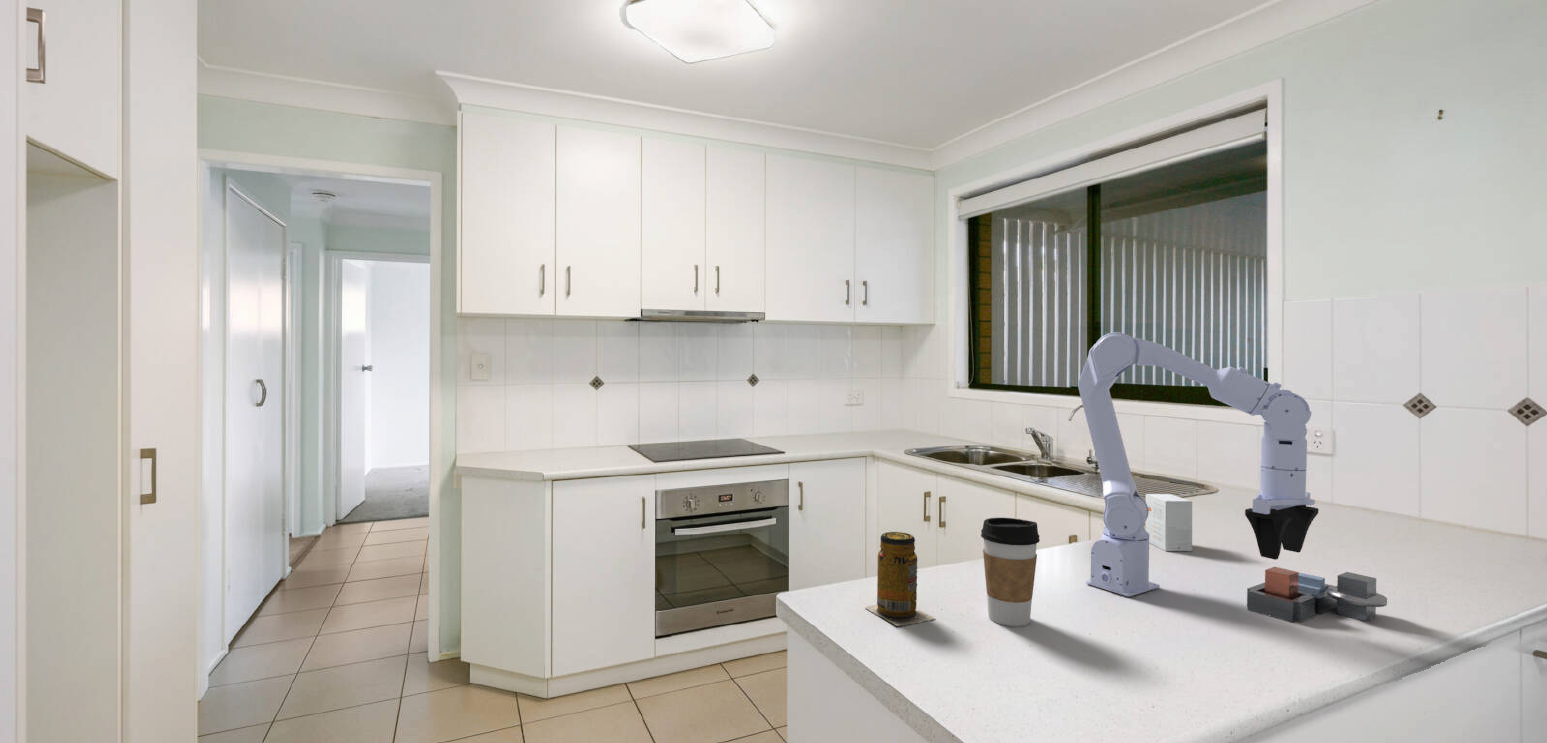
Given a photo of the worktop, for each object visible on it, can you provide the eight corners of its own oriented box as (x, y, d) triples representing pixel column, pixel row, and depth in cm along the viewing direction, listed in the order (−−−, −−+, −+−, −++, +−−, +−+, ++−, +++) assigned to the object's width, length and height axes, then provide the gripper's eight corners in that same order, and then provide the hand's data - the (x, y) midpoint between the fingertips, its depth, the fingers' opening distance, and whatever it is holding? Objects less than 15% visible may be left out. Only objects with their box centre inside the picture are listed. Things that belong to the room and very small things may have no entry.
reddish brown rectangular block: (1288, 617, 103) (1289, 575, 103) (1264, 610, 106) (1265, 569, 106) (1297, 613, 105) (1298, 572, 104) (1274, 607, 107) (1274, 566, 107)
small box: (1192, 552, 138) (1193, 501, 138) (1165, 551, 138) (1166, 501, 138) (1170, 541, 146) (1171, 493, 146) (1144, 541, 146) (1145, 493, 146)
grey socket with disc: (1352, 640, 95) (1353, 597, 95) (1238, 607, 107) (1239, 569, 107) (1397, 617, 103) (1398, 578, 103) (1286, 589, 116) (1287, 554, 116)
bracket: (1318, 609, 107) (1318, 581, 107) (1273, 598, 112) (1273, 571, 111) (1326, 604, 109) (1326, 576, 109) (1281, 593, 114) (1282, 567, 114)
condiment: (901, 601, 109) (902, 528, 109) (936, 620, 101) (936, 541, 101) (864, 608, 106) (864, 533, 105) (896, 628, 98) (897, 546, 98)
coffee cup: (1010, 634, 96) (1011, 529, 96) (968, 614, 103) (969, 517, 103) (1051, 624, 100) (1052, 523, 100) (1007, 605, 107) (1008, 512, 107)
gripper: (1292, 475, 98) (1289, 568, 98) (1334, 468, 105) (1331, 554, 105) (1238, 468, 104) (1236, 555, 104) (1281, 461, 111) (1279, 543, 111)
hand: (1280, 554), depth 105 cm, fingers open, 7 cm apart
